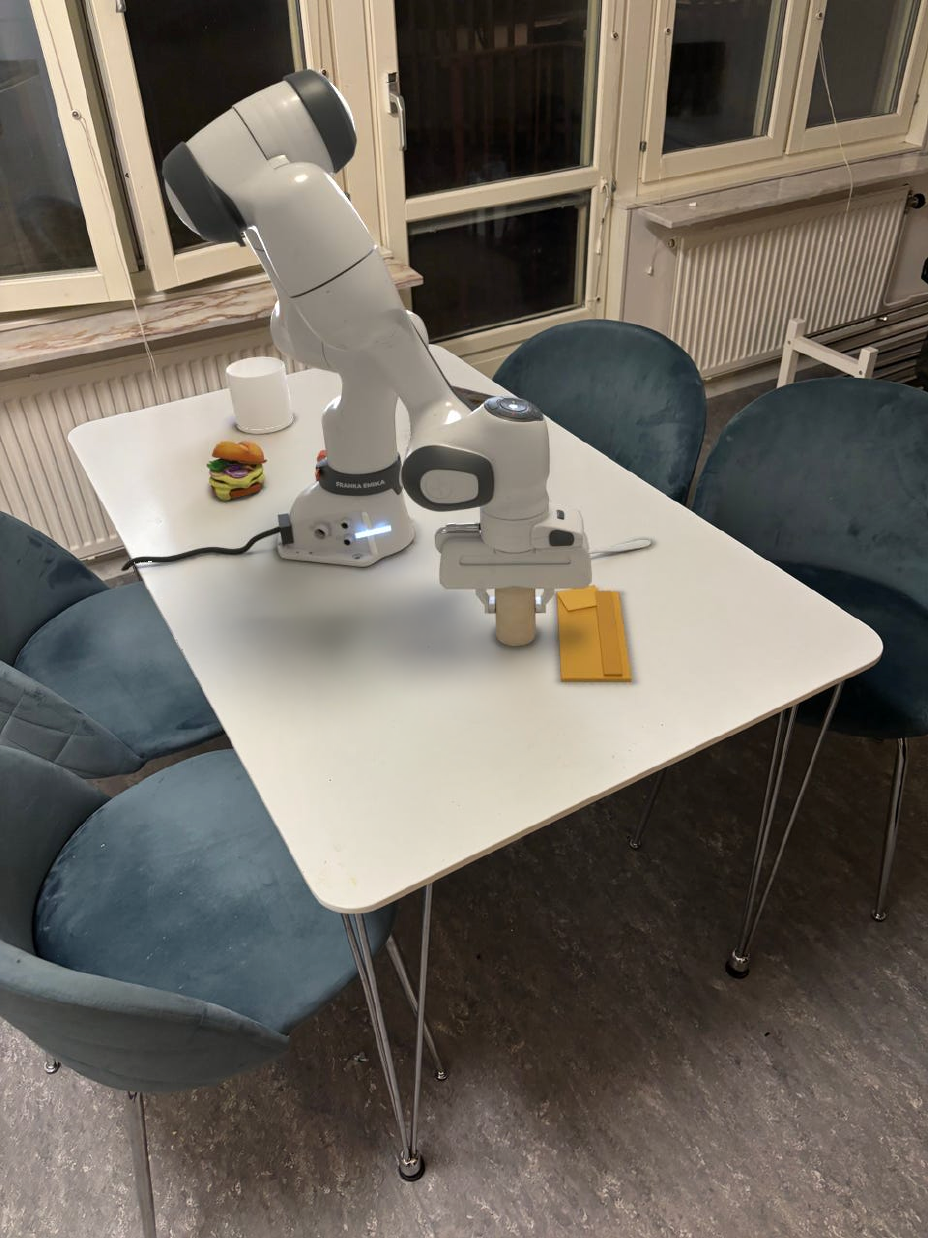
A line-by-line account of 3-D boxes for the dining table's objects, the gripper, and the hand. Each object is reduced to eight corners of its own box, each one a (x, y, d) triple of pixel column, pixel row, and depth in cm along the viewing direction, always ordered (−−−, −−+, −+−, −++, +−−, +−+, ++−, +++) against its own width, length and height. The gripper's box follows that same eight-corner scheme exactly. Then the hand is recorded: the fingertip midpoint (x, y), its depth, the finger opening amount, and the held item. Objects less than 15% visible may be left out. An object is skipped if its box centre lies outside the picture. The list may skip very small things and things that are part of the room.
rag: (560, 681, 118) (560, 675, 118) (555, 589, 135) (556, 584, 135) (631, 681, 117) (631, 676, 117) (617, 589, 135) (617, 584, 134)
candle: (532, 648, 124) (532, 587, 118) (493, 645, 125) (490, 584, 119) (538, 624, 128) (538, 564, 122) (499, 621, 129) (497, 562, 123)
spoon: (528, 567, 140) (528, 558, 139) (643, 536, 146) (643, 527, 145) (540, 580, 137) (540, 571, 136) (657, 548, 143) (658, 539, 142)
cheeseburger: (196, 498, 163) (192, 442, 159) (232, 485, 172) (228, 432, 169) (244, 505, 160) (240, 449, 156) (277, 492, 169) (275, 438, 165)
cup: (239, 413, 194) (228, 358, 187) (294, 408, 195) (285, 354, 188) (234, 436, 185) (222, 379, 178) (291, 431, 186) (282, 374, 178)
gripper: (431, 536, 114) (438, 625, 122) (595, 534, 113) (591, 624, 121) (435, 511, 119) (441, 598, 127) (592, 509, 118) (588, 597, 126)
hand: (515, 611), depth 124 cm, fingers closed on candle, 5 cm apart
